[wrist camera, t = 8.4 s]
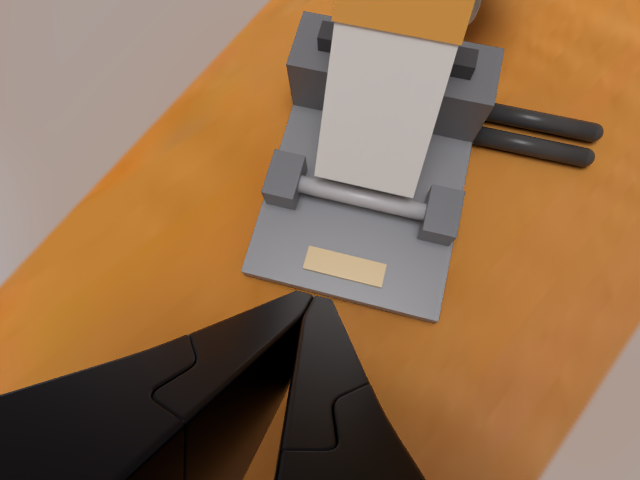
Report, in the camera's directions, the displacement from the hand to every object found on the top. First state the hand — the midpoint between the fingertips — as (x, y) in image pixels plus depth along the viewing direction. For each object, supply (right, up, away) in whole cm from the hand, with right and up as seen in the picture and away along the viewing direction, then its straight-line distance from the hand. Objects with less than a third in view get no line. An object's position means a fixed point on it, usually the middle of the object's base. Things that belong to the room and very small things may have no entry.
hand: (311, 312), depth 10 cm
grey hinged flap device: (+6, +4, +14) cm, 16 cm away
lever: (+2, +5, +12) cm, 13 cm away
